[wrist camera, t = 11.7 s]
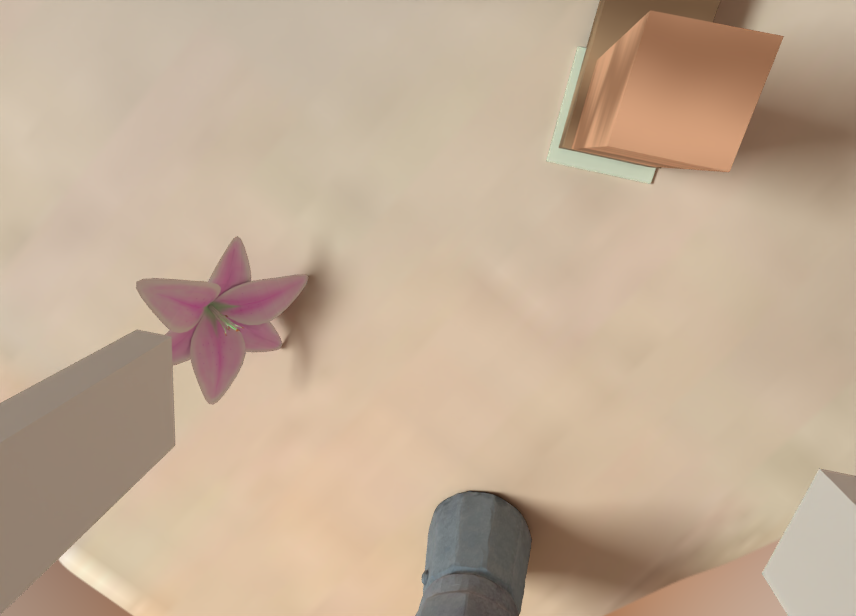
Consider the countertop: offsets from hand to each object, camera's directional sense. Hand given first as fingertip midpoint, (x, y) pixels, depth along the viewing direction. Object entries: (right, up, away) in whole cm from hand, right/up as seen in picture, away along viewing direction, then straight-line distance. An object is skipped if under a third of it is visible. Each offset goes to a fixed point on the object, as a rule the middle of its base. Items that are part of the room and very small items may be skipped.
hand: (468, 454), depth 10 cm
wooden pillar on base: (+12, +20, +19) cm, 30 cm away
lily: (-15, +4, +29) cm, 33 cm away
